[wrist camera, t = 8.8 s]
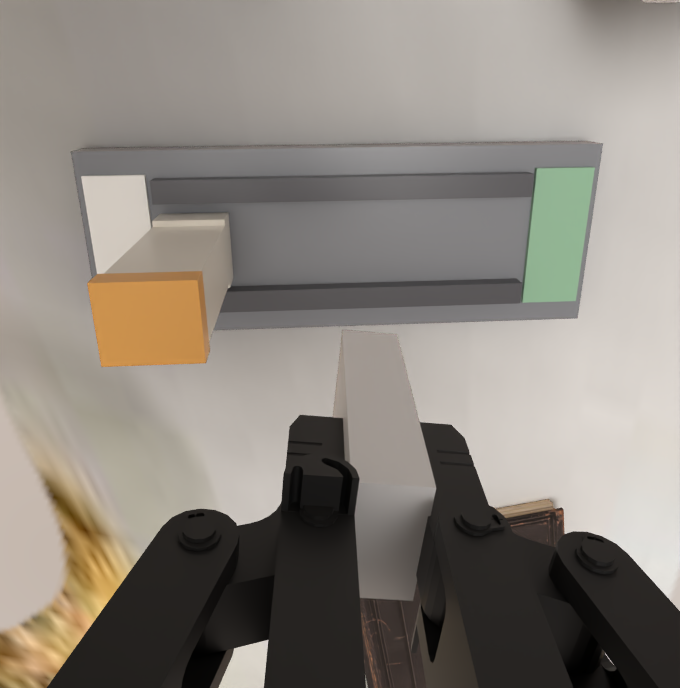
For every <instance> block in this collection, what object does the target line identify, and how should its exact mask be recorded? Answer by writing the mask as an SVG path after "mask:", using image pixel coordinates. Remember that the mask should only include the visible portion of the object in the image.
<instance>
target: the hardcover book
mask: <svg viewBox="0 0 680 688" xmlns="http://www.w3.org/2000/svg"><path fill="white" fill-rule="evenodd" d="M496 510H497V511H498V512H500V513H501V514H502V515H504V517H505V518H506V520H507V521H508V523H509V524H510V526H511V529H512V531H513V533H515V534H517V535H519V536H521V537H524V538H526V539H529V540H532V541H535V542H539V543H542V544H546V545H549V546H552V547H556V544H557V542H558V540H559V539H560V538H561V537H562V536H563V535H564V511H563V508H557V509H555V508H553V503H552V502H550V500H549V499H547V500H542V501H536V502H531V503H526V504H520V505H515V506H509V507H504V508H499V509H496ZM419 605H420V594H419V589H418V583H417V584H416V589H415V594H414V598H413V601H407V600H390V599H373V598H360V607H361V622H362V637H363V653H364V668H365V675H366V679H367V684H368V688H427V687H426V681H425V674H424V668H423V662H422V655H421V649H420V642H419V644H418V648H417V653H411V642H412V638H413V633H414V628H415V623H416V619H417V614H418V609H419Z"/></svg>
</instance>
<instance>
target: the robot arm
mask: <svg viewBox="0 0 680 688" xmlns="http://www.w3.org/2000/svg"><path fill="white" fill-rule="evenodd" d="M417 583H418V589H419V594H420V605H419V609H418V614H417V619H416V623H415V628H414V633H413V638H412V642H411V653H417V648H418V644H419V642H420V649H421V655H422V662H423V668H424V674H425V681H426V687H427V688H680V611H679V610H678V609H677V608H676V607H675V605H674V604H673V603H672V602H671V601H670V600H669V599H668V598H667V597H666V596H665V594H664V593H663V592H662V591H661V590H660V589H659V588H658V587H657V586H656V585H655V583H654V582H653V581H652V580H651V579H650V578H649V577H648V576H647V575H646V573H645V572H644V571H643V570H642V569H641V568H640V567H639V566H638V565H637V564H636V562H635V561H634V560H633V559H632V558H631V557H630V556H629V555H628V554H627V553H626V552H625V551H624V550H623V549H621V548H620V547H619V546H618V545H617V544H615V543H613V542H612V541H610V540H608V539H606V538H604V537H602V536H599V535H596V534H592V533H589V532H571V533H567V534H564V535H563V536H562V537H561V538H560V539H559V540H558V542H557V544H556V547H552V546H549V545H546V544H542V543H539V542H535V541H532V540H529V539H526V538H524V537H521V536H519V535H517V534H515V533H513V531H512V529H511V526H510V524H509V523H508V521H507V520H506V518H505V517H504V515H502V514H501V513H500V512H498V511H497V510H496V509H495V508H493V507H491V506H489V505H488V502H487V499H486V496H485V494H484V491H483V488H482V485H481V483H480V480H479V477H478V474H477V472H476V469H475V467H474V463H473V461H472V458H471V455H469V449H468V447H467V444H466V441H465V438H464V437H463V436H462V435H461V434H460V433H459V432H458V431H457V430H456V429H455V428H454V427H453V426H452V425H447V424H434V423H421V422H419V418H418V414H417V410H416V406H415V402H414V398H413V394H412V391H411V387H410V383H409V379H408V375H407V371H406V367H405V363H404V359H403V355H402V351H401V347H400V343H399V340H398V336H397V334H387V333H375V332H363V331H352V330H342V338H341V347H340V356H339V365H338V374H337V383H336V392H335V401H334V410H333V417H320V416H307V415H300V416H299V417H298V418H297V419H296V420H295V421H294V422H293V424H292V425H291V426H290V430H289V440H288V450H287V460H286V469H285V472H284V477H283V490H282V502H281V504H280V506H279V507H278V509H277V510H276V511H275V512H274V513H272V514H271V515H270V516H269V517H267V518H264V519H262V520H260V521H257V522H254V523H250V524H245V525H239V526H237V525H236V523H235V522H234V521H233V520H232V519H231V518H230V517H229V516H228V515H226V514H223V513H221V512H218V511H216V510H208V509H196V510H190V511H185V512H183V513H181V514H178V515H176V516H174V517H172V518H171V519H170V520H169V521H168V522H167V523H166V524H165V525H163V526H162V528H161V529H160V531H159V532H158V533H157V535H156V536H155V538H154V539H153V540H152V542H151V543H150V545H149V546H148V547H147V549H146V550H145V552H144V553H143V554H142V556H141V557H140V559H139V560H138V561H137V563H136V564H135V565H134V567H133V568H132V570H131V571H130V572H129V574H128V575H127V577H126V578H125V579H124V581H123V582H122V584H121V585H120V586H119V588H118V589H117V591H116V592H115V593H114V595H113V596H112V598H111V599H110V600H109V602H108V603H107V604H106V606H105V607H104V609H103V610H102V611H101V613H100V614H99V616H98V617H97V618H96V620H95V621H94V623H93V624H92V625H91V627H90V628H89V630H88V631H87V632H86V634H85V635H84V637H83V638H82V639H81V641H80V642H79V644H78V645H77V646H76V648H75V649H74V650H73V652H72V653H71V655H70V656H69V657H68V659H67V660H66V662H65V663H64V664H63V666H62V667H61V669H60V670H59V671H58V673H57V674H56V676H55V677H54V678H53V680H52V681H51V683H50V684H49V685H48V687H47V688H218V687H219V685H220V682H221V680H222V678H223V676H224V673H225V671H226V669H227V666H228V664H229V662H230V660H231V657H232V655H233V650H234V648H237V647H241V646H245V645H249V644H253V643H257V642H261V641H265V640H269V641H268V651H267V662H266V672H265V683H264V688H366V683H365V668H364V653H363V637H362V622H361V607H360V598H373V599H390V600H407V601H413V598H414V594H415V589H416V584H417ZM605 653H606V654H607V656H608V657H609V658H610V660H611V661H612V663H613V664H614V665H615V666H614V665H613V664H612V663H611V662H610V660H609V659H608V658H607V656H606V655H605Z"/></svg>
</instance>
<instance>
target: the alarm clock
mask: <svg viewBox="0 0 680 688" xmlns="http://www.w3.org/2000/svg"><path fill="white" fill-rule="evenodd" d="M642 1H643V2H646V3H666V2H680V0H642Z"/></svg>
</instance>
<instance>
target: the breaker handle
mask: <svg viewBox="0 0 680 688" xmlns="http://www.w3.org/2000/svg"><path fill="white" fill-rule="evenodd" d="M152 225H153V227H152V228H151V229H150V230H149V231H148V232H147V233H146V234H145V235H144V236H143V237H142V238H141V239H140V240H139V241H138V242H136V243H135V244H134V245H133V246H132V247H131V248H130V249H129V250H128V251H127V252H126V253H125V254H124V255H123V256H122V257H121V258H120V259H118V260H117V261H116V262H115V263H114V264H113V265H112V266H111V267H110V268H109V269H108V270H107V271H106V272H105V273H104V274H97V275H96V276H95V277H93V278H92V279H91V280H90V281H89V282H88V283H87V285H88V290H89V296H90V302H91V308H92V314H93V320H94V325H95V331H96V337H97V343H98V349H99V355H100V361H101V366H102V367H111V366H139V365H167V364H195V363H206V361H207V358H208V355H209V352H210V346H209V341H210V338H211V335H212V333H213V330H214V327H215V324H216V321H217V318H218V315H219V312H220V309H221V306H222V303H223V300H224V297H225V294H226V291H227V289H228V288H230V286H231V283H232V280H233V265H232V252H231V239H230V226H229V213H228V212H225V213H177V214H159V215H158V216H157V217H156V218H155V219H154V220H153V221H152Z"/></svg>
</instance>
